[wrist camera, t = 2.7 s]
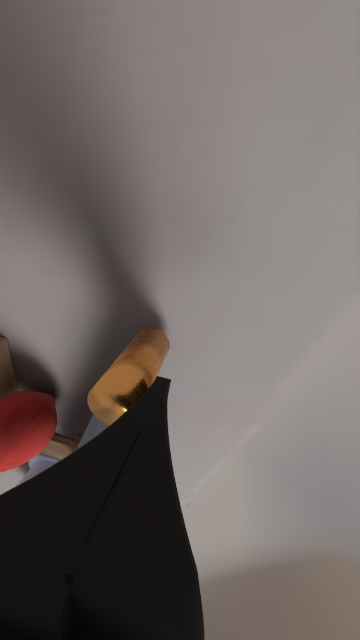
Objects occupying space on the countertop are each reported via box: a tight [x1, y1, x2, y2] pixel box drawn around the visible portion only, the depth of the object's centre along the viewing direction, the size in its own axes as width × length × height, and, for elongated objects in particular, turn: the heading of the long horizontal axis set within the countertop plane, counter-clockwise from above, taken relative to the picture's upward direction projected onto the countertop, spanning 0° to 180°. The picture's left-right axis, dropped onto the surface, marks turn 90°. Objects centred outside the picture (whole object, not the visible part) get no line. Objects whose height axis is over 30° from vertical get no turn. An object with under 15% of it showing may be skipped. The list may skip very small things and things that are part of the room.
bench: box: [0, 337, 82, 459], centre depth 19 cm, size 15×13×6 cm
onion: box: [0, 391, 57, 472], centre depth 18 cm, size 6×6×8 cm
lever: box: [76, 328, 169, 450], centre depth 16 cm, size 21×3×6 cm, turn 152°
